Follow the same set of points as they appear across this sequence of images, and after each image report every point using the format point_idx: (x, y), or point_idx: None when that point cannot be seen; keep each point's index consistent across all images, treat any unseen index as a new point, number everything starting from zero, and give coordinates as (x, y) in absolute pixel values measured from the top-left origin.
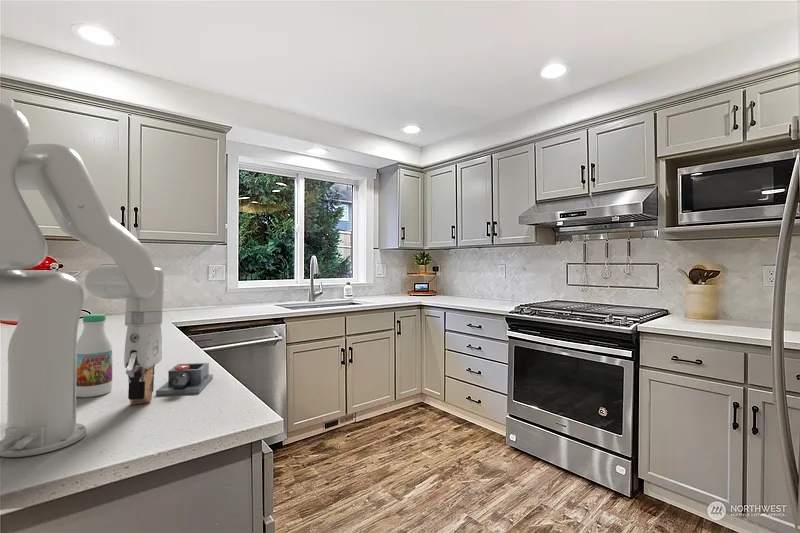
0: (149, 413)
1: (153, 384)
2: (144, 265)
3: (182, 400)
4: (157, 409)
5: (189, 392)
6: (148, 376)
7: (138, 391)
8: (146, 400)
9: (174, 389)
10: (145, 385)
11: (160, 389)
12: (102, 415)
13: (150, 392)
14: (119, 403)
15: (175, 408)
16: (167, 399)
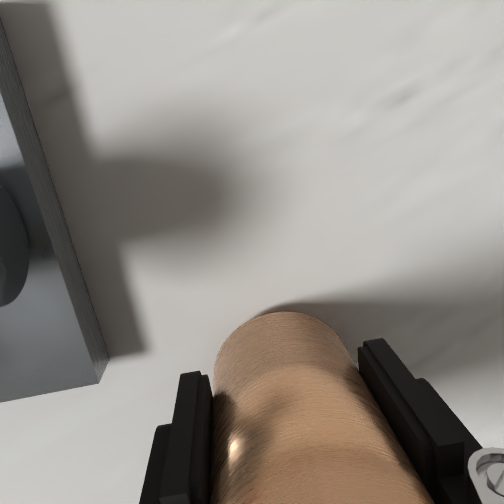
0: (492, 193)
1: (175, 415)
2: None
3: (213, 83)
4: (419, 182)
5: (18, 103)
6: (397, 485)
7: (441, 399)
8: (323, 325)
9: (34, 255)
10: (373, 415)
11: (56, 371)
12: (471, 432)
13: (299, 346)
14: None
15: (416, 44)
16: (191, 229)
